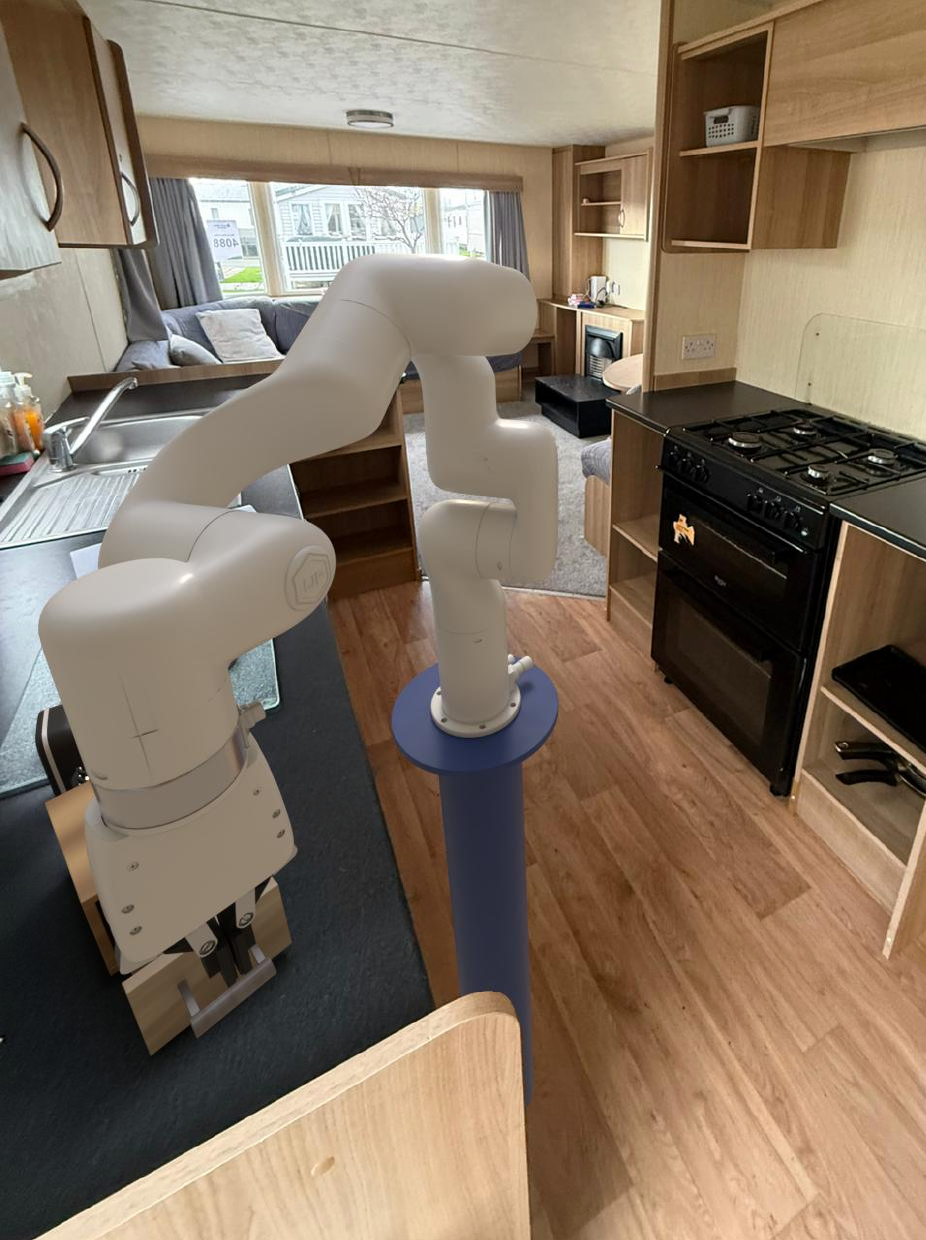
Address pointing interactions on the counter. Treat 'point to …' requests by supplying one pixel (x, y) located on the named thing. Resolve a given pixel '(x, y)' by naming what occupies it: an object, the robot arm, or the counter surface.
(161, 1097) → the counter surface
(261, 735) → the counter surface
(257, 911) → the drawer
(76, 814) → the cabinet
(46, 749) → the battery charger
